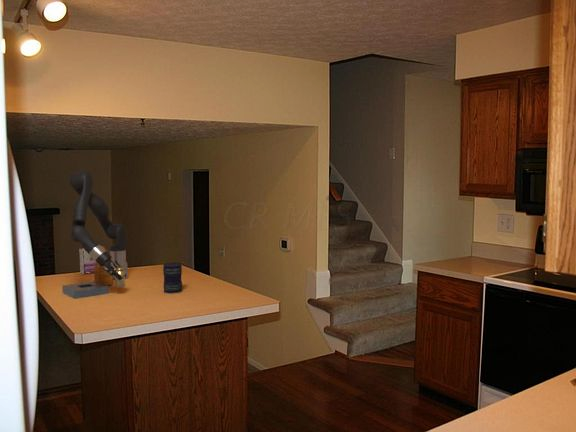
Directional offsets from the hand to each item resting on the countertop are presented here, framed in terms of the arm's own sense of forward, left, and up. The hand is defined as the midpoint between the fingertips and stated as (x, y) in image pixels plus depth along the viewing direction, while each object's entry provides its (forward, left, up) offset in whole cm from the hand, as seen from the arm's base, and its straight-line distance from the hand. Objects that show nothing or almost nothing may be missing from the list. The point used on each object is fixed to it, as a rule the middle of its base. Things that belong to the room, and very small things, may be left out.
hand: (123, 278), depth 281 cm
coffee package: (-2, -30, -9) cm, 31 cm away
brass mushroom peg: (+1, -1, -4) cm, 5 cm away
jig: (+14, -15, -8) cm, 23 cm away
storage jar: (-23, +12, -9) cm, 27 cm away
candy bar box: (-10, -72, -9) cm, 73 cm away
